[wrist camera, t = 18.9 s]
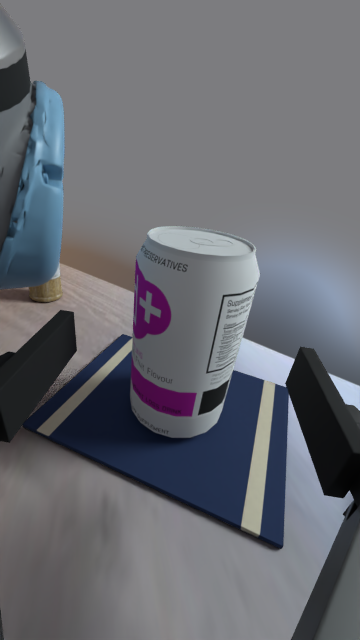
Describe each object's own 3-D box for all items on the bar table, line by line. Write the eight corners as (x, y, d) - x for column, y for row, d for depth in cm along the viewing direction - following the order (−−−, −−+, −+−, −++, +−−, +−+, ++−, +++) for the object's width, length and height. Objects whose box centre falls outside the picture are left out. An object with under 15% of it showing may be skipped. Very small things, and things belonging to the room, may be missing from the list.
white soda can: (137, 452, 21) (150, 256, 13) (125, 377, 27) (130, 221, 20) (235, 435, 23) (293, 261, 16) (202, 370, 30) (231, 228, 22)
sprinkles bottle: (33, 305, 38) (16, 201, 32) (26, 292, 41) (10, 195, 35) (67, 300, 41) (58, 202, 34) (58, 288, 44) (49, 196, 37)
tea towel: (22, 427, 22) (21, 423, 22) (122, 336, 34) (122, 333, 34) (281, 549, 17) (283, 546, 16) (287, 390, 29) (289, 388, 29)
